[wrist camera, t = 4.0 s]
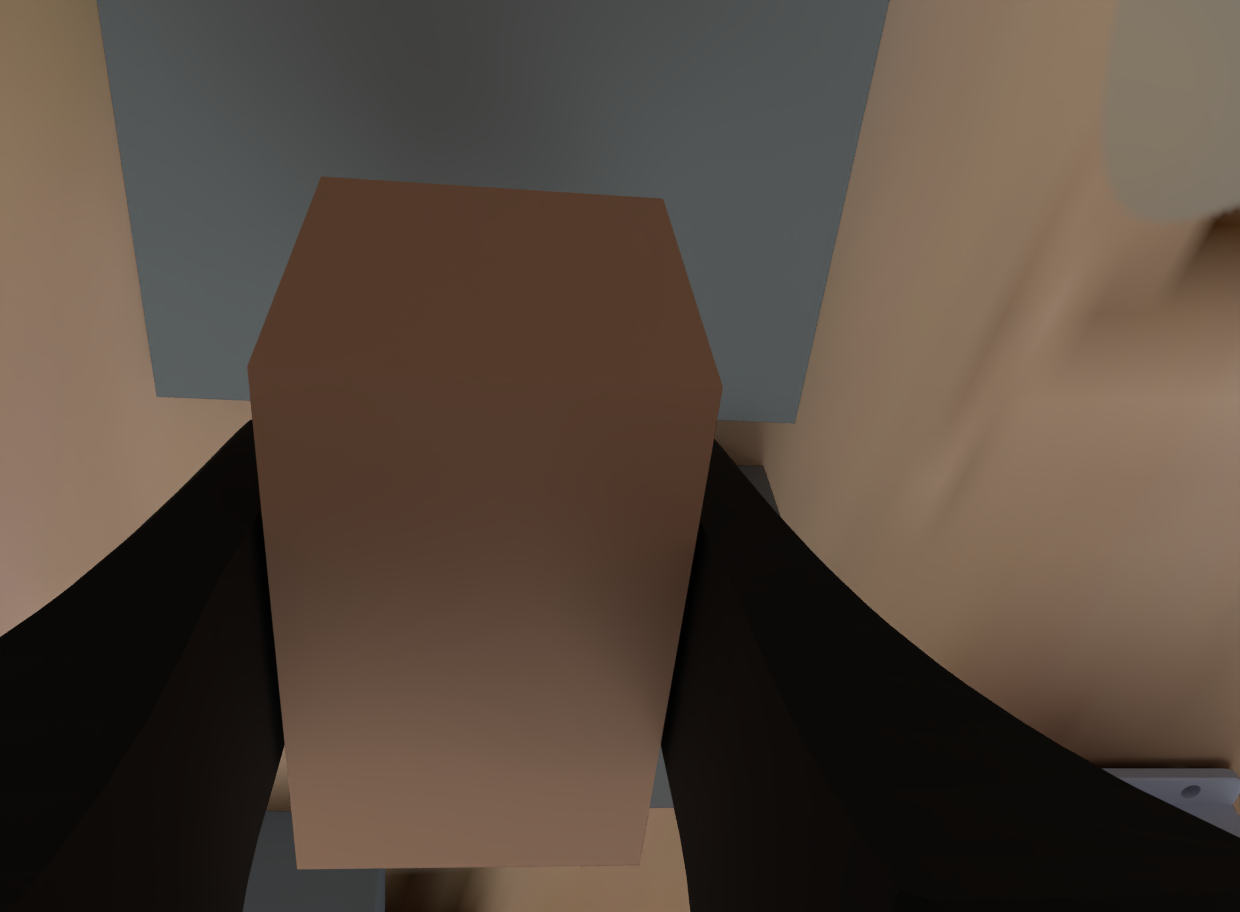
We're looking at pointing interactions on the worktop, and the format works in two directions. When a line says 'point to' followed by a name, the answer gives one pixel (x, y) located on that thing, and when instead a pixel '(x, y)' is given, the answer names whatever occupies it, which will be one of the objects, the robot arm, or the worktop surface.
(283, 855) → the dusty-blue brick
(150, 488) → the worktop surface
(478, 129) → the slate mat
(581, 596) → the terracotta brick
